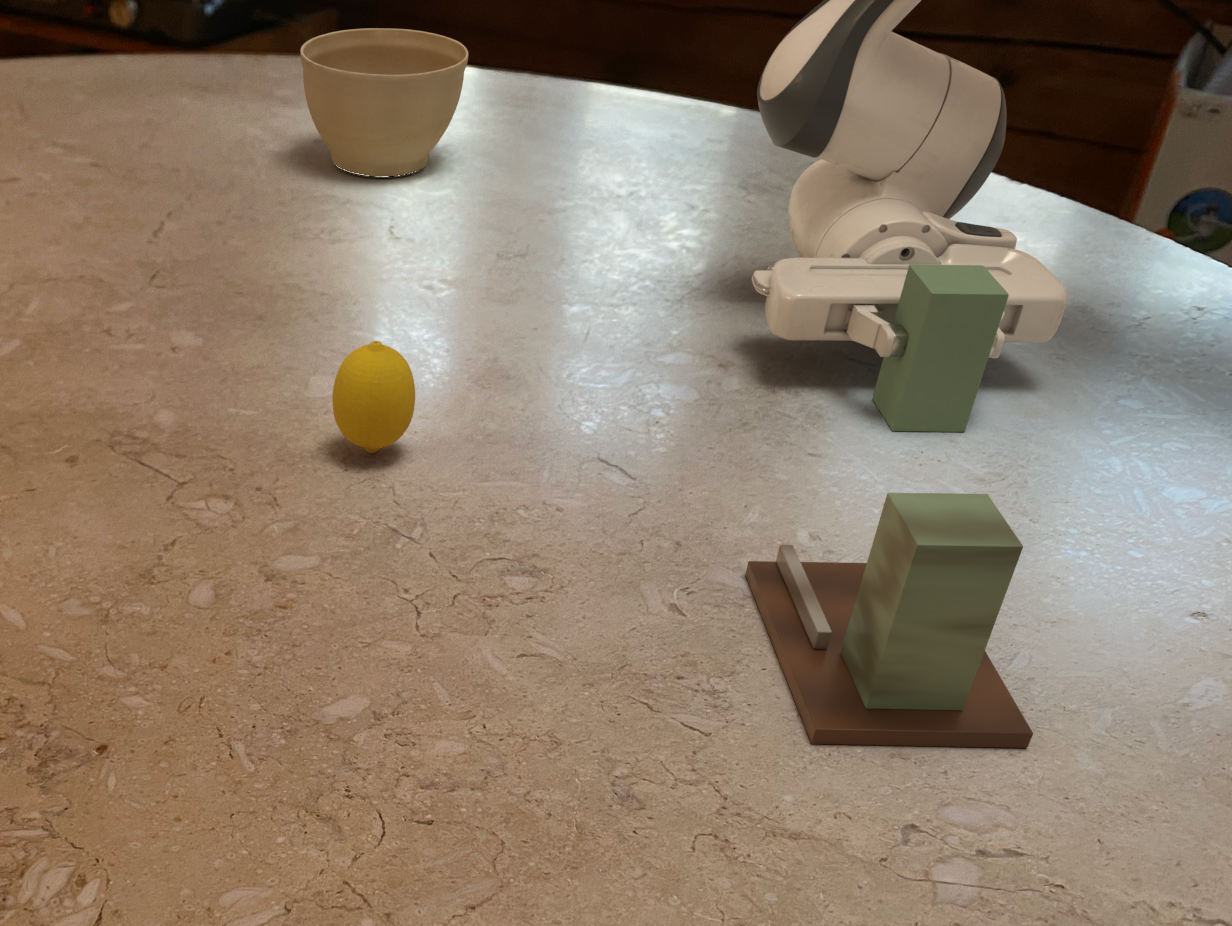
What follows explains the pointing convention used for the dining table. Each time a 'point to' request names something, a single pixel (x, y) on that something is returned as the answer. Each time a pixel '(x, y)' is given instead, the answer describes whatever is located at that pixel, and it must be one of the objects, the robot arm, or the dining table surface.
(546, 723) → the dining table surface
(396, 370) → the lemon
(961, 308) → the back pad
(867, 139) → the robot arm
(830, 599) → the mount board
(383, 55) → the planter bowl
